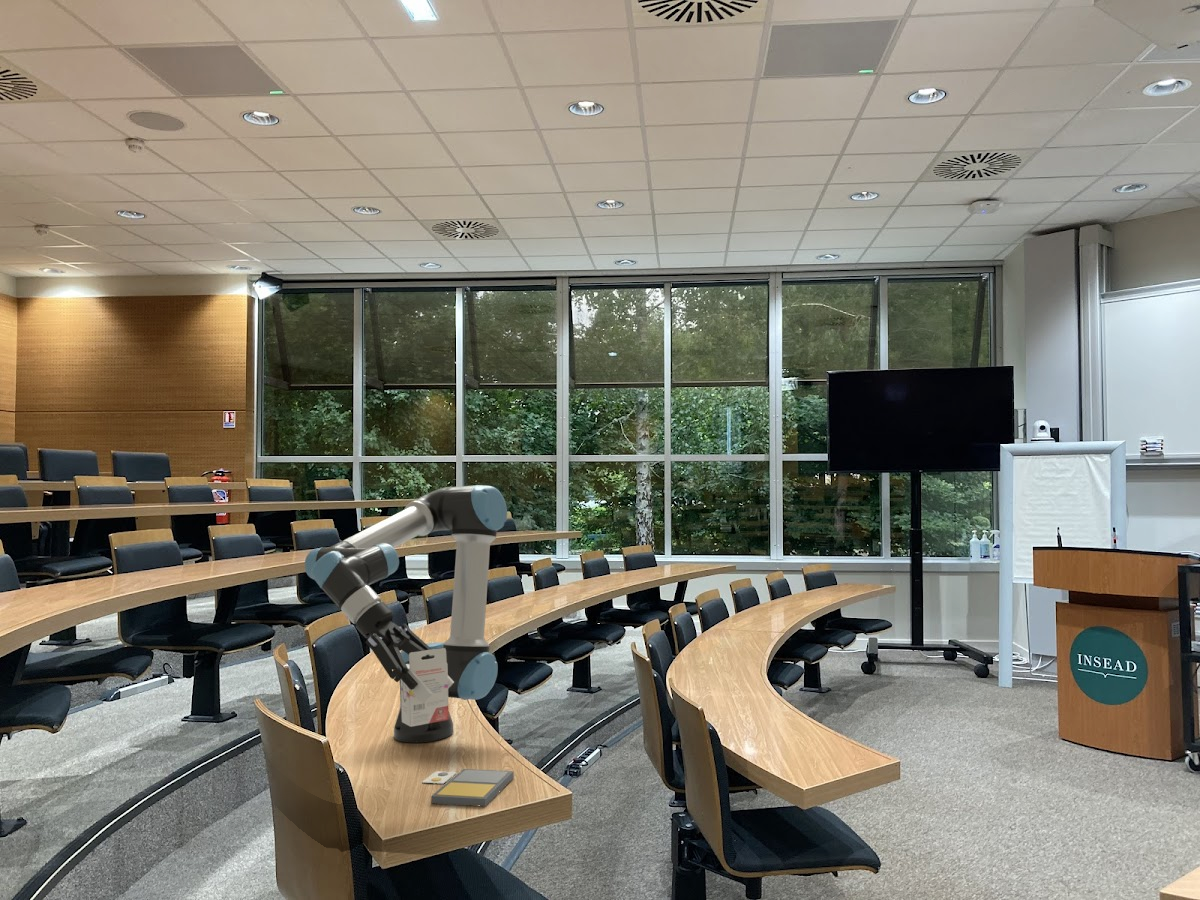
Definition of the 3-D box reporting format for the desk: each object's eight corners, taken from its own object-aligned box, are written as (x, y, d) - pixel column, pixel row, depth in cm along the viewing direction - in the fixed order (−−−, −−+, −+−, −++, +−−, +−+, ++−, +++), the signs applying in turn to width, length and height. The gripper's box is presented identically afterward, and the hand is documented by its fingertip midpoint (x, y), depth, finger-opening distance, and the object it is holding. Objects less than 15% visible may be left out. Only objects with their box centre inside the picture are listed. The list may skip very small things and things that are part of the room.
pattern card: (435, 772, 186) (435, 770, 186) (456, 773, 185) (456, 771, 185) (422, 783, 179) (422, 781, 179) (443, 784, 178) (443, 782, 178)
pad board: (463, 775, 183) (463, 768, 183) (513, 778, 181) (513, 770, 181) (431, 803, 167) (431, 795, 167) (485, 806, 164) (485, 798, 165)
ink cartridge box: (439, 715, 175) (438, 644, 176) (449, 720, 171) (448, 647, 172) (400, 722, 170) (399, 649, 171) (409, 727, 166) (408, 652, 167)
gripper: (384, 617, 186) (450, 692, 181) (327, 634, 165) (401, 719, 160) (405, 593, 185) (472, 668, 180) (351, 607, 164) (425, 693, 159)
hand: (438, 692), depth 170 cm, fingers closed on ink cartridge box, 9 cm apart
